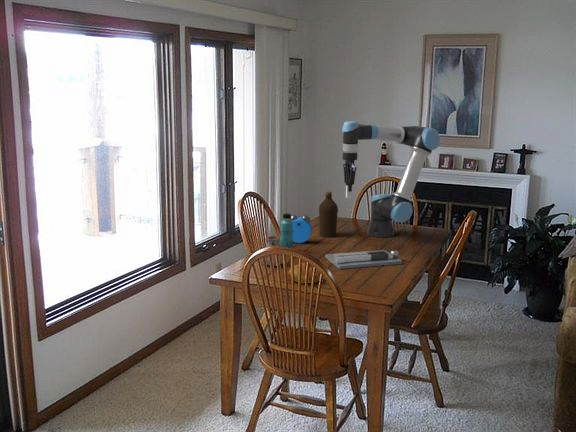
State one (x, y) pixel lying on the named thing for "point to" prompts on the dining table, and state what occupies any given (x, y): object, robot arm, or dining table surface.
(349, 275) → the dining table surface
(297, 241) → the alarm clock
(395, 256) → the tongs fixed arm
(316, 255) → the dining table surface
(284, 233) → the beverage bottle
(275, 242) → the coffee pot
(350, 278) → the dining table surface
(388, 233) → the robot arm
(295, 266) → the croissant
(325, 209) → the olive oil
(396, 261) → the slate board
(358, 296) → the dining table surface
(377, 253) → the tong arm
